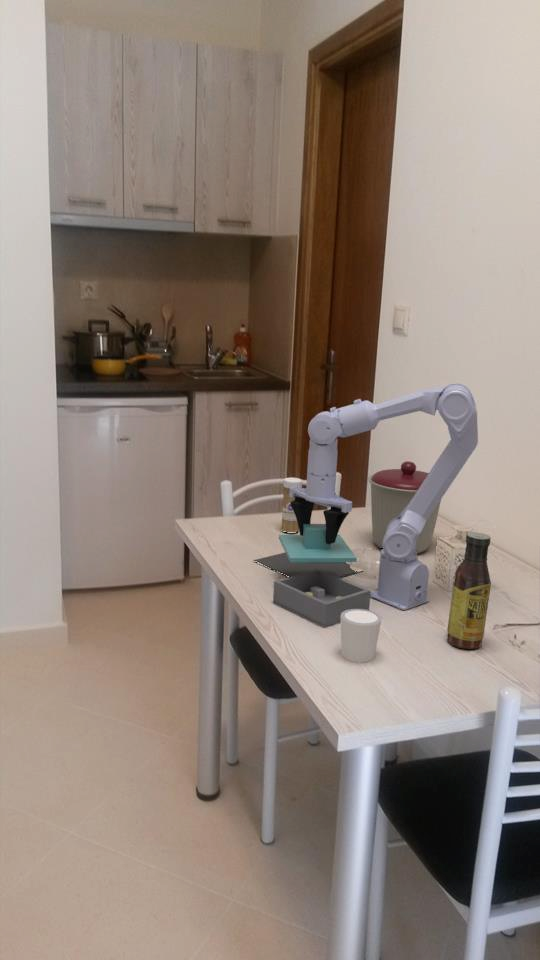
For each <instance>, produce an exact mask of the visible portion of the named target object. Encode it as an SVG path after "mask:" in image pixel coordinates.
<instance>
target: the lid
mask: <svg viewBox="0 0 540 960" xmlns="http://www.w3.org/2000/svg"><path fill="white" fill-rule="evenodd" d="M278 540H279V541H280V544H281V546H282V548H283V550H284V553H285V552H286V555H287V557H288V559H289V561H290V562H296V563H357V556H356V555H355V554H354V551H352V550H351V548H350V547H349V546H348V544H347V542H345V540H344V538H343V537H342V536H341V534H337V537H336V540H335V543H332V544H326V523H310V524H303V536H301V535H300V534H278Z"/></svg>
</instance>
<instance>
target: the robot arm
mask: <svg viewBox="0 0 540 960" xmlns="http://www.w3.org/2000/svg"><path fill="white" fill-rule="evenodd" d="M437 411H438V414H439V415H440V417H441V419H442V420H443V422H444V423H445V424H446V426H447V429H448V433H449V436H450V440H449V442H448V443H447V445H446V447H444V450H443V451H442V452H441V454H440V455H439V457H438V458H437V460H436V462H435V463H434V464H433V466H432V468H431V469H430V471H429V472H428V473H429V474H428V475H427V477H426V478H425V480H424V481H423V483H422V484H421V486H420V487H419V489H418V490H417V492H416V493H415V495H414V496H413V498H412V499H411V501H410V502H409V504H408V505H407V506H406V507H405V509H404V510H403V511H402V513H401V514H400V515H399V516H398V517H397V518H395V519H393V520H391V521H390V522H389V524H388V525H387V528H386V534H385V536H384V538H383V542H382V547H383V549H381V550H380V557H379V569H378V580H377V589H376V590H373V591H371V594H370V598H374V599H376V600H378V601H380V602H383V603H385V604H388V605H389V606H392V607H394V608H398V609H400V610H402V611H406V610H408V609H412V608H414V607H417V606H420V605H423V604H425V603H428V602H429V600H430V599H429V598H428V597H427V596H428V587H429V579H430V577H429V576H430V571H429V568H428V566H427V565H426V564H424V563H423V562H422V561H420V560H419V558H418V553H417V552H416V551H415V546H416V540H417V538H418V536H419V535H420V533H421V531H422V529H423V527H424V525H425V523H426V521H427V519H428V518H429V516H430V515H431V513H432V512H433V510H434V509H435V508H436V506H437V505H438V503H439V502H440V500H441V501H442V498H443V497H444V496H445V494H446V492H447V491H448V490H449V488H450V487H451V485H452V484H453V482H454V480H455V479H457V476H458V475H459V473H460V471H461V470H462V468H463V467H464V466H465V464H466V463H467V461H468V460H469V458H470V457H471V455H472V454H473V453H474V451H475V450H476V448H477V446H478V444H479V433H478V432H479V431H478V410H477V405H476V402H475V399H474V396H473V393H472V392H471V389H470V388H468V387H467V386H466V385H464V384H462V383H450V384H448V385H446V386H445V387H444V385H440V386H439V385H438V386H434V387H429V388H425V389H420V390H418V391H414V392H412V393H408V394H405V395H402V396H398V397H394V398H393V399H389V400H386V401H384V402H381V403H380V402H379V403H377V404H375V403H373V402H371V401H369V400H366V399H365V400H363V401H362V399H361V398H357V399H355V400H354V401H353V404H349V405H346V406H342V407H339V408H337V407H336V406H334V407H331V408H329V411H327V410H326V411H321V412H320V413H319V412H318V413H317V414H316V415H315V416H314V417H313V418H312V419H311V420H310V422H309V423H308V428H307V433H308V436H309V449H308V453H307V454H308V455H307V470H306V471H307V472H306V488H304V487H302V488H300V487H292V488H290V493H289V497H291V498H295V499H294V501H291V503H290V505H291V507H292V509H293V511H294V513H295V516H296V519H297V522H298V527H299V532H298V533H299V535H301V536H303V524H311V520H312V514H313V510H314V506H315V504H317V505H321V506H325V507H327V508H329V509H325V510H323V516H324V521H325V524H326V544H332V543H335V540H336V537H337V535H339V532H340V528H341V526H342V524H343V523H344V521H345V519H346V518H347V517H348V515H349V514H350V512H352V510H353V501H351V500H348V499H345V498H343V497H342V496H339V495H337V493H336V485H337V484H336V481H337V468H338V466H337V465H338V439H339V437H340V438H347V437H351V436H354V435H358V434H361V433H365V432H368V431H373V430H375V429H376V428H377V426H378V424H379V422H380V421H383V420H387V419H392V418H397V417H401V416H404V415H408V414H412V413H417V412H422V413H425V414H428V415H430V416H434V417H435V416H436V412H437ZM440 503H441V502H440Z"/></svg>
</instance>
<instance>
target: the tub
mask: <svg viewBox="0 0 540 960" xmlns="http://www.w3.org/2000/svg"><path fill="white" fill-rule="evenodd" d="M371 592H372V591H371V590H370V589H368V588H366V587H363V586H361V585H359V584H356V583H354V582H351V581H349V580H346V579H343V578H339V577H337V576H335V575H332V574H330V573H327V572H325V571H322V570H320V569H317V570H313V571H309V572H306V573H302V574H298V575H295V576H291V577H287V576H286V577H285V578H281V579H276V580H274V581H273V597H272V604H275V605H276V606H279V607H280V608H282V609H285V610H286V611H289V612H290V613H292V614H295V615H297V616H299V617H301V618H303V619H305V620H306V621H310V622H311V623H313V624H315V625H317V626H320V627H322V628H324V629H326V628H328V627H332V626H335V625H337V624H339V623H340V624H341V618H340V616H341V613H342V612H344V611H345V610H350V609H364V610H369V611H370V603H371V596H370V594H371Z"/></svg>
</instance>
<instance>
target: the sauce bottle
mask: <svg viewBox="0 0 540 960" xmlns="http://www.w3.org/2000/svg"><path fill="white" fill-rule="evenodd" d="M465 542H466V543H465V544H466V545H465V552H464V555H463V556H464V559H463V560H462V561H461V563H460V564H459V565H458V567H457V568H456V571H455V575H454V582H453V585H452V586H453V587H452V593H451V600H450V606H449V607H450V608H449V613H448V615H449V616H448V622H447V629H446V631H447V637H446V639H447V642H448V643H449V644H450V645H452V646H454V647H456V648H459V649H466V650H475V649H477V648H479V647H481V645H482V642H483V639H484V635H485V628H486V621H487V614H488V606H489V601H490V593H491V592H490V591H491V586H492V581H491V576H490V573H489V567H488V566H489V565H488V554H489V553H488V552H489V548H490V547H489V546H490V544H491V536H489V535H488V534H486V533H482V532H477V531H476V532H468V533H466V536H465Z"/></svg>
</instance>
